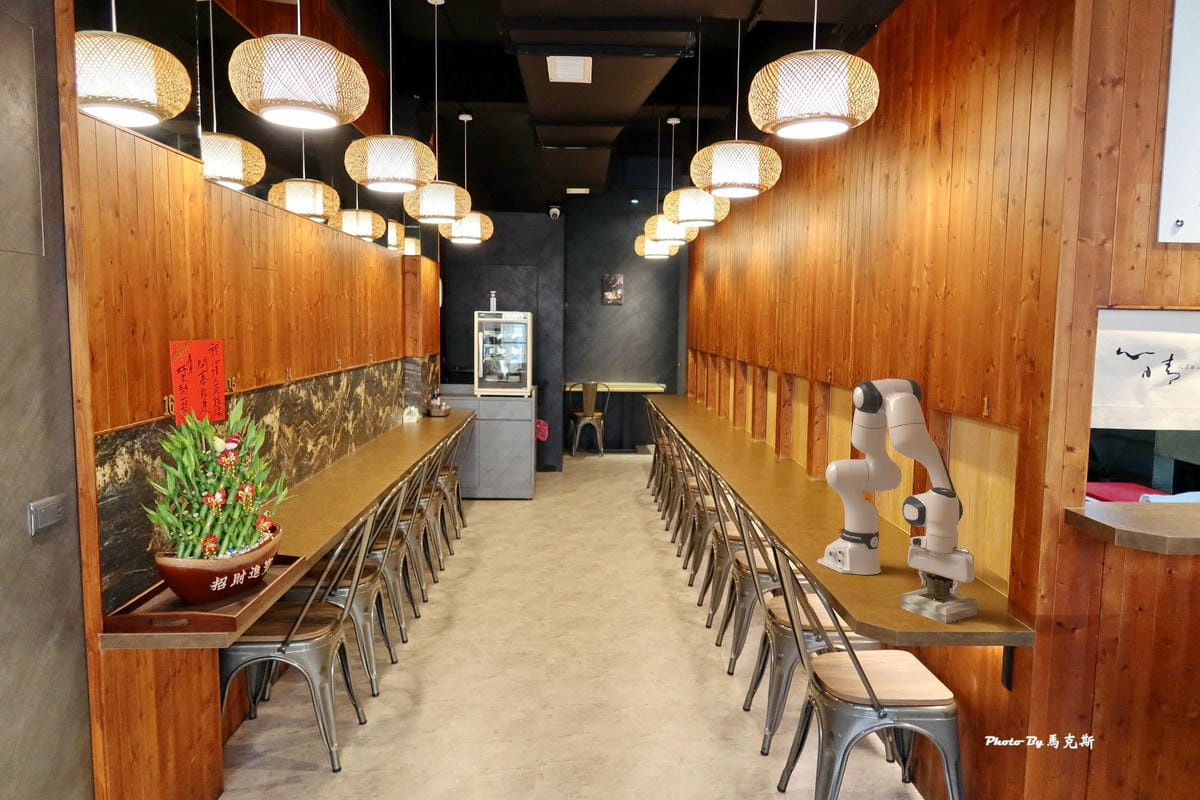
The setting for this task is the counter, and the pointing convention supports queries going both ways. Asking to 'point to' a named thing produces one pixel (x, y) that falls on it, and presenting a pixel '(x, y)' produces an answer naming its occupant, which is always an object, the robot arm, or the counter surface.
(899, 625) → the counter surface
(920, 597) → the white recessed square tray
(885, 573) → the counter surface
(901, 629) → the counter surface
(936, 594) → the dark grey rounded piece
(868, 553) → the robot arm
